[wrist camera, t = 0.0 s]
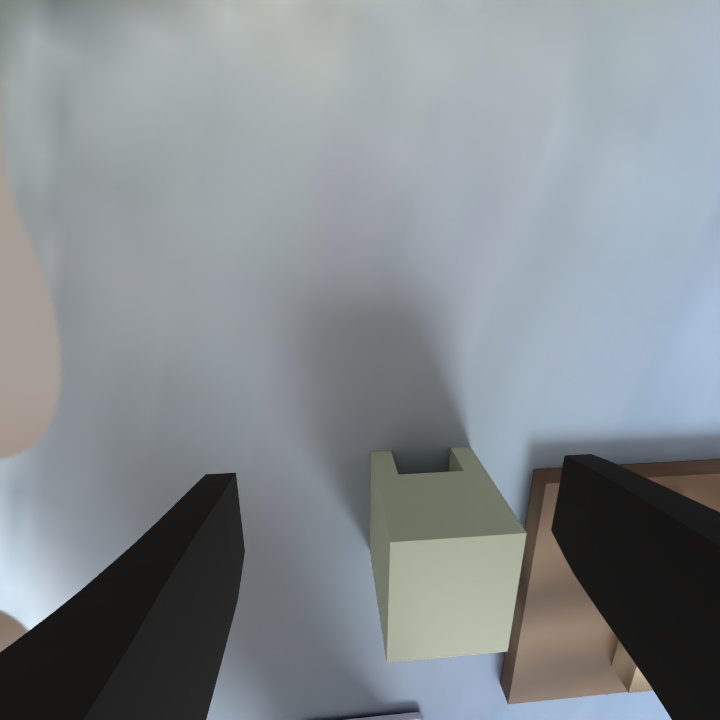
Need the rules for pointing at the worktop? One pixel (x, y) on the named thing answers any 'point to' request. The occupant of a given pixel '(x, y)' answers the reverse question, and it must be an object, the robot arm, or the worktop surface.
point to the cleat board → (577, 601)
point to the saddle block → (443, 559)
